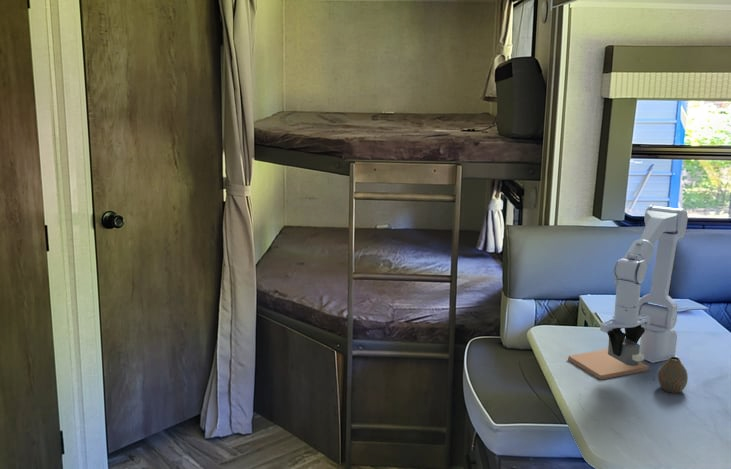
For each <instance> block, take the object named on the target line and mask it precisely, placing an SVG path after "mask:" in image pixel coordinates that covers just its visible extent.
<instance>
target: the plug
mask: <svg viewBox="0 0 731 469" xmlns="http://www.w3.org/2000/svg"><path fill="white" fill-rule="evenodd" d="M607 347H608V348H607V349H608V355H610V356H612V357H613V358H615V359H617V360H619V361H621V362H622V363H624V364H626V365H629V366H637V365H638V363H639V361H640V362H642V361H645V359H644V355H642V354H640V353H639V352H640V343H638V342H637V343H635V342H633V341H631V340H629V339H627V338H626V337H625V338H624V341H623V344H622V352H621V355H620V356H617V355H615V354H613V350H612V345H611V341H610V338H609V337H608V346H607Z"/></svg>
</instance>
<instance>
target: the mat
mask: <svg viewBox="0 0 731 469" xmlns="http://www.w3.org/2000/svg"><path fill="white" fill-rule="evenodd" d="M568 361H570V362H571V363H573V364H575V365H576V366H578V367H579V368H581V369H582V370H584V371H586V372H587V373H589V374H591V375H592V376H594V377H596V378H598V380H606V379H610V378H615V377H616V378H617V377H621V376H626V375H631V374H636V373H641V372H646V371H649V365H647V364H645V363H643V362H642V361H639V363H638V365H637V366H629V365H626V364H624V363H622V362H621V361H619V360H617V359H615V358H613V357H612V356H610V355H608V348H605V349H599V350H593V351H587V352H581V353H577V354H570V355H568Z"/></svg>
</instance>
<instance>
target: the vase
mask: <svg viewBox="0 0 731 469" xmlns="http://www.w3.org/2000/svg"><path fill="white" fill-rule="evenodd" d="M657 377H658V378H657V379H658V383H659V386H660V388H662V389H663V390H664V391H665V392H668V393H671V394H678V393H680V392H682V391H683V390H684V389H685V388H686V386H687V385H688V372H687V369H686V367H685V366H684V364H683V363H682V361H681V359H680V357H678V356H677V357H670V358H669V359H668V360H665V361H664V363H663V364H662V365H661V366H660V367H659V370H658V373H657Z"/></svg>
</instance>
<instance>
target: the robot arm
mask: <svg viewBox="0 0 731 469" xmlns="http://www.w3.org/2000/svg"><path fill="white" fill-rule="evenodd" d="M688 216H689V215H688V212H687V210H686V209H685V208H675V207H667V206H666V207H665V206H661V205H659V206H658V205H654V204H650V205H649V206H648V207H646V210H645V212H644V226H645V227H644V229H643V232H642V234H641V236H640V238H639V239H636V240H634V241H633V242H632V244H631V246H630V247H629V248H628V250H627V252H626V254H625V255H624V257H622V258H621V259H618V260H616V261H615V264H614V268H613V279H614V286H615V287H616V290H615V301H614V302H615V304H614V315H613V316H612V318H611V319H608V320H607V321H604V322H601V323H600V326H599V330H600V331H601V332H603V333H604V334H605V333H606V334H607V336H608V339H609V338H610V341H611V345H612V350H613V354H615V355H617V356H620V355H621V352H622V344H623V341H624V338H627V339H629V340H631V341H633V342H635V343H637V344H638V342H639V340H640V342H639V345H640V352H639V353H640V354H642V355H644V361H645V360H646V361H647V362H649V363H651V364H654V363H659V362H666V361H667V360H668V359H669V358H670V357H678V356H677V355H676V352H677V351H676V350H677V342H678V340H677V339H678V333H677V331H676V329H675V326H676V323H677V320H678V304H677V303H676V301H675V300H674V299H673V298H672V297H671V296H670V295H669V294H670V293H669V291H670V286H671V282H672V281H671V280H672V273H673V267H674V261H675V256H676V251H677V244H678V241H679V240H680V239H683V238H685V234H686V232H687V225H688V219H689V218H688ZM656 243H657V246H656V253H655V247H654V245H655V244H656ZM654 253H655V258H654V259H655V260H654V267H653V272H652V280H651V283H650V291H649V293H647V294H644V295H643V296H641V288H642V286H641V284H642V283H643V281H644V280H645V277H646V273H647V270H648V264H649V262H650V260H651V259H652V257H653V255H654ZM640 296H641V298H640ZM622 329H624V332H623V331H622Z"/></svg>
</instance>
